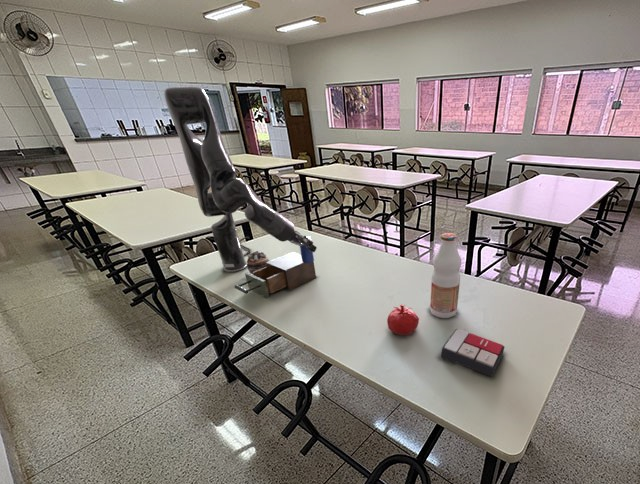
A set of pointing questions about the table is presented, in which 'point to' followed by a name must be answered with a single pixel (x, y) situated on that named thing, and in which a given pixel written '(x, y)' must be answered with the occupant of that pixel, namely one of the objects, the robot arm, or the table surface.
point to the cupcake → (256, 261)
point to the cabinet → (294, 269)
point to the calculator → (473, 352)
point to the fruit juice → (445, 278)
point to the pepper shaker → (306, 254)
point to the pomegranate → (402, 321)
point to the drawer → (264, 281)
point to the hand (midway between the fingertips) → (310, 248)
